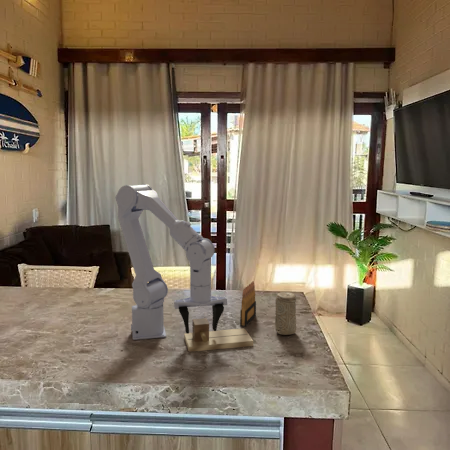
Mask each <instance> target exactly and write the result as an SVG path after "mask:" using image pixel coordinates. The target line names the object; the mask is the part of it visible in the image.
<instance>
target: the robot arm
mask: <svg viewBox="0 0 450 450" xmlns="http://www.w3.org/2000/svg"><path fill="white" fill-rule="evenodd" d="M114 199H115V201H116V204H117V219H118V222H119V226H120V229H121V233H122V235H123V238H124V242H125V244H126V248H127V251H128V255H129V258H130V261H131V264H132V267H133V271H134V275H135V277H134V279H133V281H132V283H131V286H132V299H133V301H134V303H135V305H131V324H130V331H131V332H132V340H134V341H137V340H147V339H158V338H160V339H161V338H167V333H166V329H165V325H164V323H165V322H164V320H165V319H164V302H165V298H166V297H167V295H168V293H169V288H168V284H167V283H166V282H165V281H164V279H163V278H162V274H161V273H160V272H159V271H157V270H155V268H154V266H153V262H152V258H151V256H150V252H149V249H148V246H147V242H146V239H145V236H144V233H143V230H142V227H141V224H140V219H139V218H140V216H141V215H142V212H143V211H149V212H150V213H151V214H153V215H154V216H155V217H156V218H158V220H159V221H161V223H162V224H164V225H165V226H166V227H167V228H168V229H169V235H170V237H171V238H172V239H173V240H174V241H175V242H176V243H177V244H178V245H179V246H180V247H181V248H182V249H183V250H184V251H185V256H186V258H187V260H188V262H189V271H190V272H189V277H190V279H189V281H190V282H189V283H190V285H189V286H190V287H189V293H190V294H189V295H190V296H189V297H185V298H181V299H173V303H174V305H173V307H174V309H175V310H176V309H177V310H178V312H179V313H180V317H181V318H182V321H183V323H184V329H185V333H187V334H188V333H190V326H189V325H190V324H189V321H190V319H189V318H190V317H189V315H190V312H189V308H193V307H207V306H212V308H211V309H212V311H211V312H212V323H211V324H212V326H211V327H212V331H217V328H218V324H219V321H220V319H221V316H222V315H223V313H224V310H225V307H224V306H227V305H228V298H227V297H226V296H218V295H217V296H216V295H215V296H212V257H213V256H214V254H215V252H216V251H215V246H214V244H213V242H212V241H211V239H209V238H205V237H203V236H202V235H201V234H199V233H198V232H197V231H196V230H195V229H194V228H193V227H192V224H191V222H189V221H187V220H183V219H181V220H180V219H178V218H177V217H176V215H174V213H173V212H172V211H171V210H170V209H169V207H167V205H166V204H165V203H164V202H163V201H162V199H161V198H160V197H159V195H158V192H157V191H156V190H155V189H153V188H152V187H151V186H150V184H148V183H142V184H134V185H133V184H132V185H127V184H125V185H122V186H121V187H120V188H119V190H118V191H117V193H116V195H115V198H114Z"/></svg>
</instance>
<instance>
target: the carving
mask: <svg viewBox="0 0 450 450" xmlns="http://www.w3.org/2000/svg"><path fill="white" fill-rule="evenodd" d="M296 301H297V296H296V294H295V293H293V292H287V291H282V292H278V293H277V294H276V296H275V302H274V303H275V310H274V312H275V313H274V314H275V317H274V325H275V326H274V328H275V331H276V333H277V334H279V335H283V336H287V335H294V334H296V331H297V309H296V308H297V307H296Z"/></svg>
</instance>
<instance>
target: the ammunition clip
mask: <svg viewBox="0 0 450 450" xmlns="http://www.w3.org/2000/svg"><path fill="white" fill-rule="evenodd" d="M255 286H256V285H255V282H254V281H252V282H250V283H249V284H248V285H247V286H246V287H244V288H243V289H242V296H241V309H240V312H239V313H240V316H239V317H240V318H239V319H240V320H239V321H240V322H239V323H240V324H239V326H240V327H244V328H246V327H247V326H248V325H249V324H250V323H251V322H252V321H253V319H254V318H255V317H256V315H257V301H256V288H255Z"/></svg>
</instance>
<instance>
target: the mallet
mask: <svg viewBox="0 0 450 450" xmlns="http://www.w3.org/2000/svg"><path fill="white" fill-rule="evenodd" d="M191 325H192V332H191V333H192V336H193V339H194V341H195V342H202V341H203V342H204V343H206V342H207V341H209V331H210V323H209V321H208V318H207V317H205V318H204V317H203V318H193V319H192V324H191Z"/></svg>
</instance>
